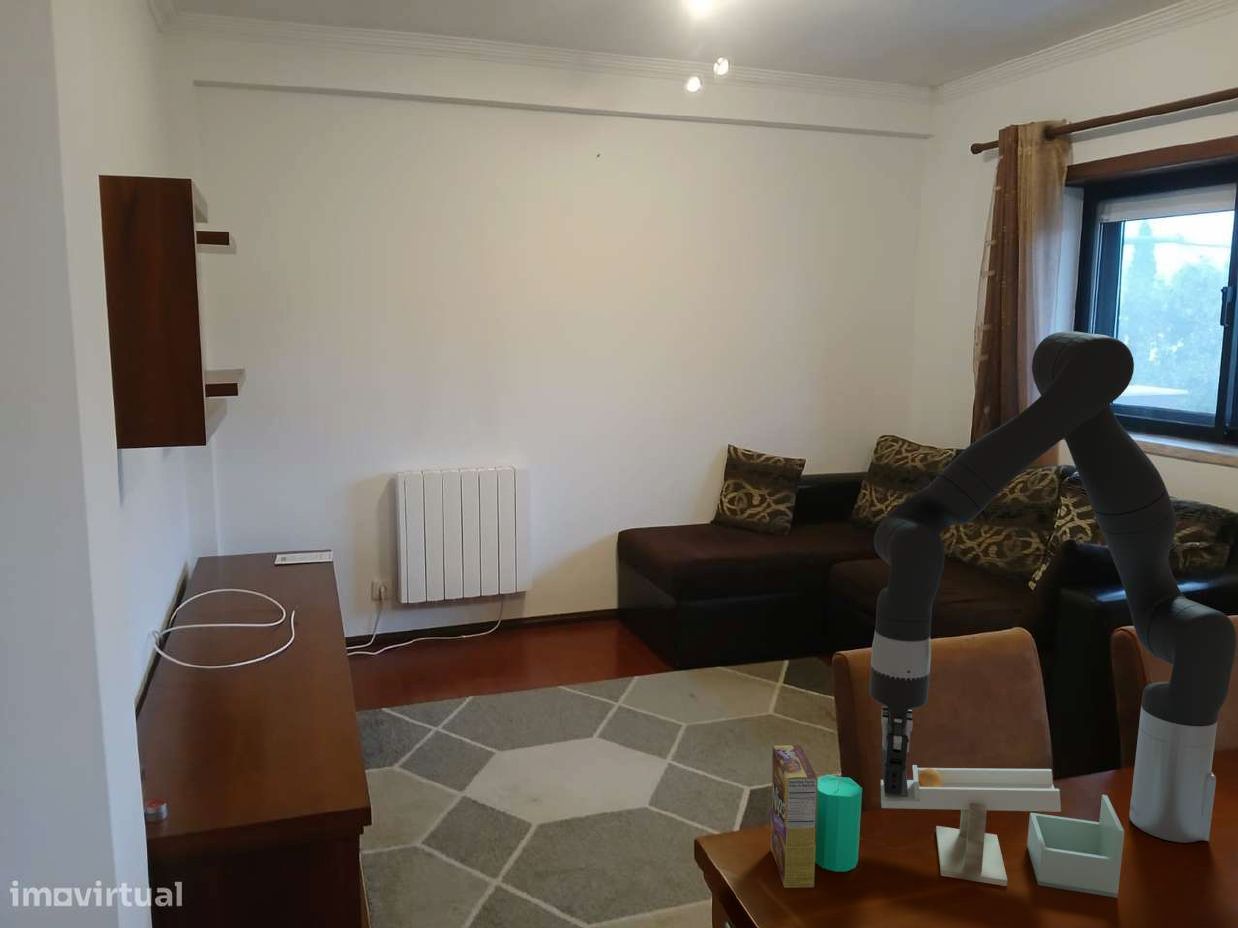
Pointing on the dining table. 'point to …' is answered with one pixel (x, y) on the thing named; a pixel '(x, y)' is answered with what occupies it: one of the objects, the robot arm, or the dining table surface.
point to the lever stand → (971, 849)
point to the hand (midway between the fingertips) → (892, 784)
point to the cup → (1077, 851)
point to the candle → (837, 823)
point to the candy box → (793, 816)
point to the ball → (929, 778)
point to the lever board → (977, 790)
